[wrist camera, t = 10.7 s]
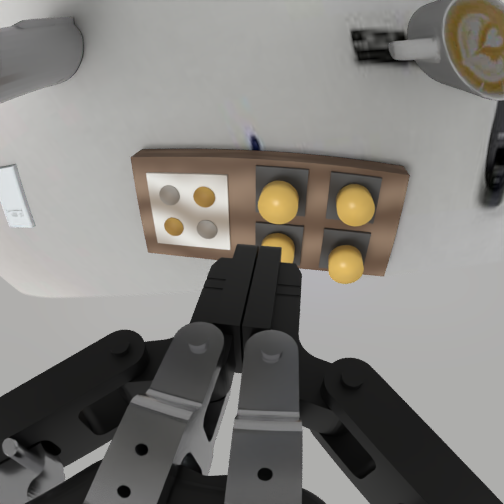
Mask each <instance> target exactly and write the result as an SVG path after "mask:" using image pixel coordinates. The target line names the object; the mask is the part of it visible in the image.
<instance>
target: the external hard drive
mask: <svg viewBox="0 0 504 504" xmlns="http://www.w3.org/2000/svg"><path fill="white" fill-rule="evenodd" d="M0 202H1V205H2V208H3V211H4V213H5V216H6V218H7V221H8V224H9V226H10V227H20V228H33V227H34V226H35V223H34V220H33V217H32V214H31V211H30V209H29V206H28V203H27V200H26V196H25V193H24V190H23V187H22V184H21V180H20V177H19V173H18V170H17V166H16V164H14V165H9V166H4V167H0Z"/></svg>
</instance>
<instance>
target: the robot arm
mask: <svg viewBox="0 0 504 504" xmlns="http://www.w3.org/2000/svg"><path fill="white" fill-rule="evenodd" d="M82 55H83V40H82V36H81V33H80V31H79V29H78V28H77V27H76V26H75V24H74V18H73V17H58V18H41V19H30V20H22V21H20V22H18V23H16V24H14V25H12V26H11V27H5V28H0V103H3V102H5V101H8V100H10V99H13V98H16V97H19V96H21V95H24V94H27V93H30V92H33V91H36V90H39V89H42V88H45V87H48V86H53V85H56V84H58V83H62V82H64V81H66V80H68V79H69V78H70V77H71V76H72V75H73V74H74V73H75V72H76V70H77V68H78V67H79V64H80V62H81V59H82ZM281 254H282V247H273V246H260V248H259V245H246V244H237V246H236V249H235V252H234V255H233V258H224V257H221V258H220V259H219V260H217V261H216V262H215V263H214V264H213V265H212V266H211V268H210V271H209V274H208V276H207V280H206V281H205V284H204V288H203V289H202V292H201V295H200V297H199V300H198V303H197V305H196V308H195V311H194V313H193V316H192V319H191V321H190V323H189V324H187V325H185V326H184V327H182V328H181V329H180V330H178V332H177V333H176V334H175V336H174V337H173V338H170V339H166V340H158V341H148V342H144V340H143V338H142V337H141V336H140V335H139V334H138V333H136V332H134V331H131V330H119V331H115V332H113V333H111V334H109V335H107V336H106V337H104V338H102V339H100V340H99V341H97V342H96V343H93V344H92V345H90V346H88V347H87V348H85V349H83V350H81V351H80V352H78V353H76V354H74V355H73V356H71V357H69V358H67V359H66V360H64V361H62V362H60V363H59V364H57V365H55V366H53V367H52V368H50V369H48V370H46V371H45V372H43V373H41V374H39V375H38V376H36V377H34V378H32V379H31V380H29V381H27V382H26V383H24V384H22V385H20V386H19V387H17V388H15V389H14V390H12V391H10V392H9V393H6V394H5V395H3V396H1V397H0V504H326V503H325V502H324V501H323V500H321V499H320V498H319V497H317V496H316V495H314V494H313V493H311V492H309V491H308V490H305V489H303V488H302V426H304V427H306V428H309V429H310V430H311V432H312V434H313V435H314V436H315V438H316V439H317V440H318V441H319V443H320V444H321V445H322V447H323V448H324V449H325V450H326V451H327V453H328V454H329V455H330V456H331V458H332V459H333V460H334V461H335V462H336V464H337V465H338V466H339V467H340V468H341V470H342V471H343V472H344V473H345V475H346V476H347V477H348V478H349V479H350V481H351V482H352V483H353V484H354V485H355V487H357V489H358V490H359V491H360V492H361V493H362V495H363V496H364V497H365V498H366V499H367V500H368V502H369V503H370V504H503V503H502V502H501V501H500V500H499V499H498V498H497V497H496V496H495V495H494V494H493V493H492V491H491V490H490V489H489V488H488V487H487V486H486V485H485V484H484V483H483V482H482V481H481V480H480V479H479V478H478V477H477V476H476V475H475V474H474V473H473V472H472V471H471V470H470V469H469V468H468V466H467V465H466V464H465V463H464V462H463V461H462V460H461V459H460V458H459V457H458V456H457V455H456V454H455V453H454V452H453V451H452V450H451V449H450V448H449V447H448V446H447V445H446V443H444V441H443V440H442V439H441V438H440V437H439V436H438V435H437V434H436V433H435V432H434V431H433V430H432V429H431V428H430V427H429V426H428V425H427V424H426V423H425V422H424V421H423V420H422V419H421V418H420V417H419V416H418V414H416V413H415V411H414V410H412V408H411V407H410V406H409V405H408V404H407V403H406V402H405V401H404V400H403V399H402V398H401V397H400V396H399V395H398V394H397V393H396V392H395V391H394V390H393V389H392V388H391V387H390V386H389V385H388V384H387V383H386V381H385V380H384V379H383V378H382V377H381V376H380V375H379V374H378V373H377V372H376V371H375V370H374V369H373V368H372V367H371V366H370V365H369V364H367V363H366V362H364V361H362V360H359V359H356V358H343V359H339V360H337V361H335V362H334V363H329V362H327V361H323V360H321V359H318V358H316V357H314V356H312V355H310V354H309V353H308V352H307V351H306V350H305V349H304V348H303V347H302V345H301V343H300V341H299V335H298V332H299V316H300V298H301V278H302V274H301V272H300V270H299V268H298V266H297V265H296V263H284V262H281ZM234 372H236V373H242V376H241V385H240V395H239V404H238V411H237V416H236V417H235V420H234V426H233V433H232V442H231V450H230V459H229V468H228V475H219V476H208V473H209V470H210V467H211V463H212V458H213V448H214V443H215V440H216V437H217V434H218V430H219V427H220V424H221V421H222V418H223V415H224V412H225V409H226V405H227V402H228V399H229V396H230V388H231V384H232V380H233V375H234ZM110 440H112V441H111V443H110V445H109V447H108V450H107V452H106V454H105V456H104V458H103V459H102V460H100V461H98V462H96V463H94V464H92V465H91V466H89V467H87V468H86V469H84V470H82V471H81V472H79V473H77V474H76V475H74V476H73V477H71V478H69V479H68V480H66V481H64V480H65V474H64V473H63V467H65V466H67V465H69V464H71V463H72V462H74V461H76V460H78V459H80V458H81V457H83V456H85V455H86V454H88V453H90V452H92V451H94V450H95V449H97V448H99V447H100V446H102V445H104V444H105V443H107V442H109V441H110Z"/></svg>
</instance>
